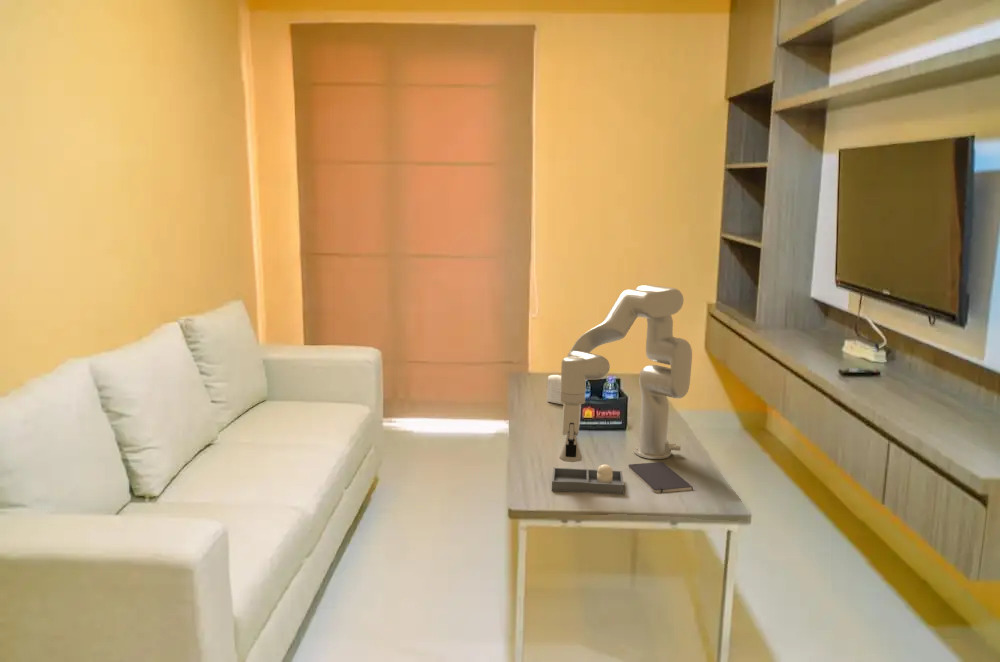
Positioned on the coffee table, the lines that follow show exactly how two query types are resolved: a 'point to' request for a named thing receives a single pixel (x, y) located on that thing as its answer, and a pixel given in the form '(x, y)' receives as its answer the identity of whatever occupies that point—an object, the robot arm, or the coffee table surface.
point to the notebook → (659, 477)
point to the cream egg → (604, 474)
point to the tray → (585, 481)
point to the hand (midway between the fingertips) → (570, 452)
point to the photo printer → (554, 389)
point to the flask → (571, 459)
